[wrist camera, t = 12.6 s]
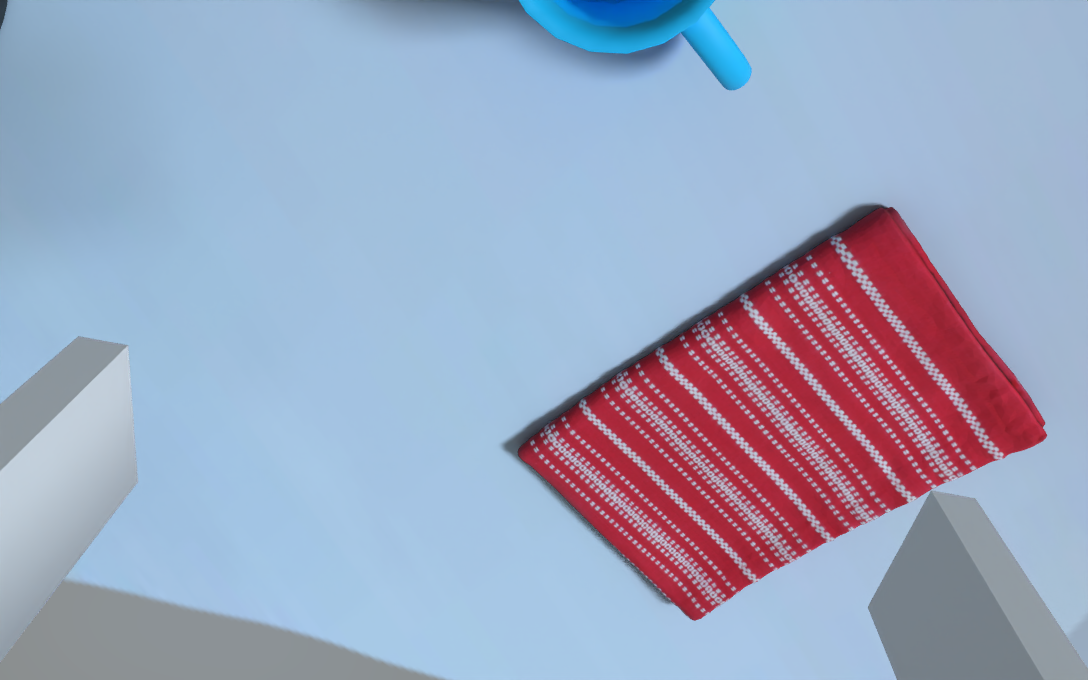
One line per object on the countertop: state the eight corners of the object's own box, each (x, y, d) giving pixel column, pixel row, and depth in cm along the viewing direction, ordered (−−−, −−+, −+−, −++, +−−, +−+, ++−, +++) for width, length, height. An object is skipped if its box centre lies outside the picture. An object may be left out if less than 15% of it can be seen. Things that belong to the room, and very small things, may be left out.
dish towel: (1039, 419, 44) (1065, 448, 42) (684, 604, 52) (689, 638, 50) (888, 185, 38) (909, 203, 36) (513, 434, 46) (510, 463, 44)
